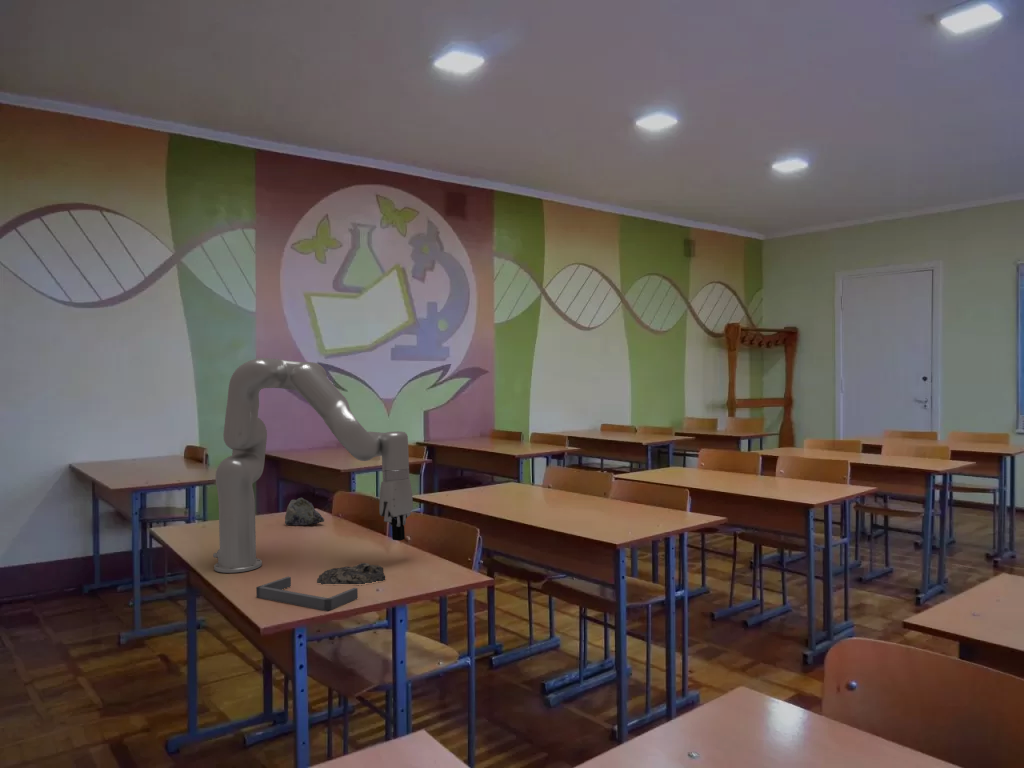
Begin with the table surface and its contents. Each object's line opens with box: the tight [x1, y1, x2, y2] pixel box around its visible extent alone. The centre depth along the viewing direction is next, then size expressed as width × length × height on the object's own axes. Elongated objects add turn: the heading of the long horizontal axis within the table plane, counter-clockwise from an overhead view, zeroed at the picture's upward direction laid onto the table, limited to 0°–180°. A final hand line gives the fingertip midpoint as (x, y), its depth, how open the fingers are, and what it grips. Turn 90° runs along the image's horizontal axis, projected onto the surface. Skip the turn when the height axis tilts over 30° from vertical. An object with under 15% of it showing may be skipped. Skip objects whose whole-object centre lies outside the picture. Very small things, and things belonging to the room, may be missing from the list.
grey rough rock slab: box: [316, 562, 386, 585], centre depth 191 cm, size 19×4×15 cm
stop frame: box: [255, 576, 359, 612], centre depth 175 cm, size 23×10×2 cm, turn 61°
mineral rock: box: [284, 497, 325, 526], centre depth 260 cm, size 13×11×10 cm
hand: (398, 539), depth 206 cm, fingers closed
